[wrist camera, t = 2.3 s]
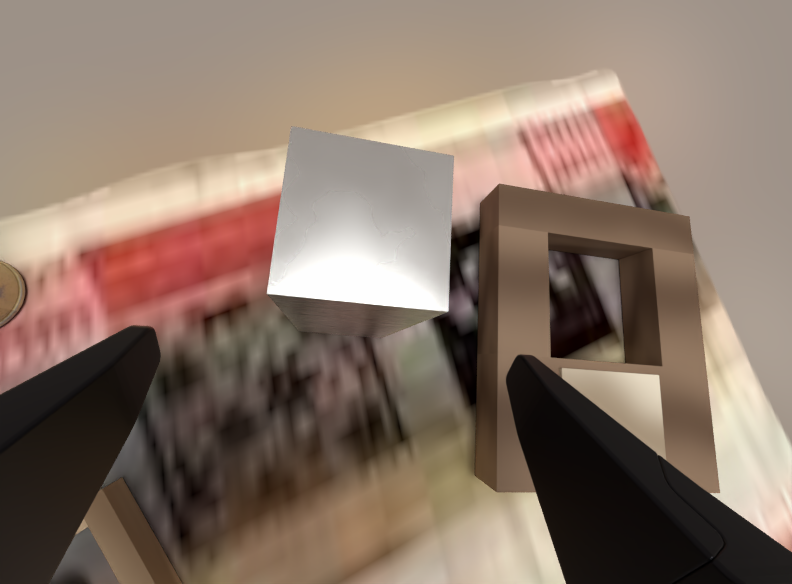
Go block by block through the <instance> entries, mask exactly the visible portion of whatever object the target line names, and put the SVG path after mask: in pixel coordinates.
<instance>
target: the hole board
mask: <svg viewBox="0 0 792 584" xmlns="http://www.w3.org/2000/svg"><path fill="white" fill-rule="evenodd" d="M548 250H554V251H562V252H569V253H576V254H583V255H590V256H597V257H604V258H612V259H619V267H620V283H621V298H622V314H623V329H624V344H625V360H626V364H625V363H613V362H600V361H587V360H575V359H562V358H551V353H550V308H549V263H548ZM519 354H524V355H533V356H535V357H536V358H537V359H538V360H540V361H541V362H542V363H544V364H545V365H546V366H547V367H549V368H550V369H551V370H552V371H554V372H555V373H556V374H557V375H559V376H560V377H561V378H563V379H564V380H565V381H566V382H568V383H569V384H570V385H571V386H573V387H574V388H575V389H576V390H578V391H579V392H580V393H582V394H583V395H584V396H585V397H587V398H588V399H589V400H590V401H592V402H593V403H594V404H595V405H597V406H598V407H599V408H601V409H602V410H603V411H604V412H606V413H607V414H608V415H609V416H611V417H612V418H613V419H615V420H616V421H617V422H618V423H620V424H621V425H622V426H623V427H625V428H626V429H627V430H628V431H630V432H631V433H632V434H634V435H635V436H636V437H637V438H639V439H640V440H641V441H642V442H644V443H645V444H646V445H647V446H649V447H650V448H651V449H653V450H654V451H655V452H656V453H657V455H660V456H662V457H663V458H664V459H665V460H667V461H668V462H669V463H670V464H672V465H673V466H674V467H675V468H677V469H678V470H679V471H681V472H682V473H683V474H684V475H686V476H687V477H688V478H690V479H691V480H692V481H694V482H695V483H696V484H697V485H699V486H700V487H701V488H703V489H704V490H706V491H707V492H708V493H720V489H719V480H718V471H717V462H716V453H715V444H714V435H713V426H712V417H711V408H710V399H709V389H708V380H707V371H706V362H705V353H704V344H703V335H702V326H701V317H700V308H699V299H698V290H697V281H696V272H695V263H694V254H693V244H692V235H691V227H690V217H689V216H683V215H678V214H672V213H666V212H660V211H654V210H649V209H643V208H637V207H631V206H625V205H620V204H614V203H608V202H602V201H596V200H591V199H585V198H579V197H573V196H567V195H562V194H556V193H550V192H544V191H538V190H533V189H527V188H521V187H515V186H509V185H504V184H498V185H497V186H496V187H495V189H494V190H493V191H492V192H491V193H490V194H489V195H488V196H487V197H486V198H485V199H484V200H483V201H482V202H481V203H480V248H479V298H478V348H477V399H476V449H475V476H476V477H478V478H479V479H480V480H481V481H483V482H484V483H485V484H487V485H488V486H489V487H491V488H492V489H493V490H494V491H496V492H536V490H535V487H534V484H533V481H532V478H531V475H530V472H529V469H528V466H527V463H526V460H525V457H524V454H523V451H522V448H521V445H520V442H519V438H518V435H517V431H516V427H515V422H514V418H513V413H512V409H511V404H510V400H509V395H508V390H507V386H506V375H507V373H508V371H509V369H510V367H511V365H512V363H513V361H514V359H515V357H516V356H517V355H519Z"/></svg>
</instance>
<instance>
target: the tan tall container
mask: <svg viewBox="0 0 792 584" xmlns="http://www.w3.org/2000/svg"><path fill="white" fill-rule="evenodd" d="M24 297H25V285H24V281H23V279H22V277H21V275H20V274H19V273H18V271H17V270H16V269H14V268H13V267H12V266H10V265H8V264H6V263H4V262H2V261H0V326H2V325H4V324H6V323H7V322H8V321H9V320H10V319H12V318H13V317H14V316H15V314H16V313H17V312H18V311H19V309H20V307H21V306H22V304H23V301H24Z"/></svg>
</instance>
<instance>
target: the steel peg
mask: <svg viewBox="0 0 792 584" xmlns="http://www.w3.org/2000/svg"><path fill="white" fill-rule="evenodd" d="M453 167H454V156H452V155H447V154H441V153H436V152H430V151H425V150H419V149H414V148H408V147H403V146H397V145H392V144H386V143H381V142H375V141H370V140H364V139H359V138H354V137H348V136H343V135H337V134H332V133H326V132H321V131H315V130H310V129H304V128H299V127H293V126H291V131H290V139H289V145H288V152H287V159H286V165H285V172H284V179H283V186H282V193H281V200H280V207H279V214H278V220H277V227H276V234H275V241H274V248H273V255H272V262H271V269H270V275H269V282H268V289H267V294H268V296H269V297H270V298H271V299H272V300H273V301H274V302H275V304H276V305H277V306H278V307H279V308H280V309H281V311H282V312H283V313H284V314H285V315H286V316H287V317H288V319H289V320H290V321H291V322H292V323H293V324H294V326H295V327H296V328H297V329H298V330H299V331H300V332H312V333H324V334H336V335H348V336H361V337H373V338H383V337H385V336H388V335H390V334H393V333H395V332H398V331H401V330H403V329H406V328H408V327H411V326H413V325H416V324H418V323H421V322H423V321H426V320H428V319H431V318H433V317H436V316H438V315H441V314H443V313H446V312H448V300H449V273H450V247H451V220H452V193H453Z"/></svg>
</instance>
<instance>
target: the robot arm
mask: <svg viewBox="0 0 792 584" xmlns="http://www.w3.org/2000/svg"><path fill="white" fill-rule="evenodd" d="M160 357H161V353H160V349H159V344H158V340H157V336H156V332H155V330H154V328H152V327H150V326H138V325H132V326H129V327H127V328H125V329H123V330H121V331H120V332H118V333H116V334H114V335H112V336H110V337H108V338H106V339H104V340H103V341H101V342H99V343H97V344H95V345H93V346H91V347H89V348H87V349H86V350H84V351H82V352H80V353H78V354H76V355H74V356H72V357H70V358H69V359H67V360H65V361H63V362H61V363H59V364H57V365H55V366H53V367H52V368H50V369H48V370H46V371H44V372H42V373H40V374H38V375H37V376H35V377H33V378H31V379H29V380H27V381H25V382H23V383H21V384H20V385H18V386H16V387H14V388H12V389H10V390H8V391H6V392H4V393H3V394H1V395H0V584H49V582H50V580H51V579H52V577H53V575H54V573H55V571H56V569H57V567H58V566H59V564H60V562H61V560H62V558H63V556H64V554H65V553H66V551H67V549H68V547H69V545H70V543H71V542H72V540H73V538H74V536H75V534H76V532H77V530H78V529H79V527H80V525H81V523H82V521H83V519H84V517H85V516H86V514H87V512H88V510H89V508H90V506H91V504H92V503H93V501H94V499H95V497H96V495H97V493H98V491H99V490H100V488H101V486H102V484H103V482H104V480H105V479H106V477H107V475H108V473H109V471H110V469H111V467H112V466H113V464H114V462H115V460H116V458H117V456H118V454H119V453H120V451H121V449H122V447H123V445H124V443H125V441H126V440H127V438H128V436H129V434H130V432H131V430H132V428H133V426H134V424H135V422H136V420H137V417H138V415H139V413H140V410H141V408H142V405H143V403H144V400H145V398H146V395H147V392H148V390H149V387H150V385H151V382H152V380H153V377H154V375H155V372H156V370H157V367H158V365H159V362H160ZM506 386H507V390H508V395H509V400H510V404H511V409H512V413H513V418H514V422H515V427H516V431H517V435H518V438H519V442H520V445H521V448H522V451H523V454H524V457H525V460H526V463H527V466H528V469H529V472H530V475H531V478H532V481H533V484H534V487H535V490H536V494H537V497H538V500H539V503H540V506H541V509H542V512H543V515H544V518H545V521H546V524H547V527H548V530H549V533H550V536H551V539H552V542H553V545H554V548H555V551H556V554H557V557H558V560H559V563H560V567H561V570H562V573H563V576H564V579H565V582H566V584H792V552H791V551H789V550H788V549H786V548H785V547H784V546H782V545H781V544H779V543H778V542H777V541H775V540H774V539H772V538H771V537H770V536H768V535H767V534H765V533H764V532H763V531H761V530H760V529H758V528H757V527H756V526H754V525H753V524H751V523H750V522H749V521H747V520H746V519H744V518H743V517H742V516H740V515H739V514H737V513H736V512H735V511H733V510H732V509H730V508H729V507H728V506H726V505H725V504H723V503H722V502H721V501H719V500H718V499H717V498H715V497H714V496H712V495H711V494H710V493H708V492H707V491H706V490H704V489H703V488H701V487H700V486H699V485H697V484H696V483H695V482H694V481H692V480H691V479H690V478H688V477H687V476H686V475H684V474H683V473H682V472H681V471H679V470H678V469H677V468H675V467H674V466H673V465H672V464H670V463H669V462H668V461H667V460H665V459H664V458H663V457H662V456H660V455H657V453H656V452H655V451H654V450H653V449H651V448H650V447H649V446H647V445H646V444H645V443H644V442H642V441H641V440H640V439H639V438H637V437H636V436H635V435H634V434H632V433H631V432H630V431H628V430H627V429H626V428H625V427H623V426H622V425H621V424H620V423H618V422H617V421H616V420H615V419H613V418H612V417H611V416H609V415H608V414H607V413H606V412H604V411H603V410H602V409H601V408H599V407H598V406H597V405H595V404H594V403H593V402H592V401H590V400H589V399H588V398H587V397H585V396H584V395H583V394H582V393H580V392H579V391H578V390H576V389H575V388H574V387H573V386H571V385H570V384H569V383H568V382H566V381H565V380H564V379H563V378H561V377H560V376H559V375H557V374H556V373H555V372H554V371H552V370H551V369H550V368H549V367H547V366H546V365H545V364H544V363H542V362H541V361H540V360H538V359H537V358H536V357H535V356H533V355H524V354H519V355H517V356H516V357H515V359H514V361H513V363H512V365H511V367H510V369H509V371H508V373H507V375H506Z"/></svg>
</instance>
